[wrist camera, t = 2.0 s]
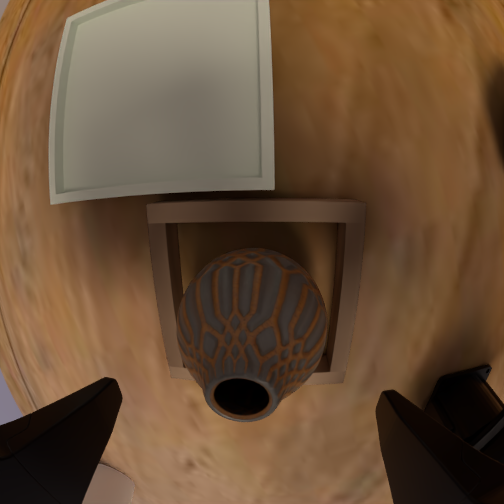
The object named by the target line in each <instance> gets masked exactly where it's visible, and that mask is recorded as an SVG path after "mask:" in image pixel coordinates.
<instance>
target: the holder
mask: <svg viewBox="0 0 504 504" xmlns="http://www.w3.org/2000/svg"><path fill="white" fill-rule="evenodd" d="M146 205H147V219H148V232H149V243H150V252H151V261H152V270H153V278H154V285H155V292H156V299H157V306H158V312H159V318H160V324H161V329H162V335H163V340H164V345H165V351H166V355H167V360H168V365H169V370H170V374H171V378H176V379H185V380H193V381H195V380H194V378H193V377H192V376H191V374H190V373H189V371H188V370H187V368H186V366H185V364H184V362H183V360H182V358H181V355H180V352H179V348H178V343H177V317H178V311H179V307H180V303H181V300H182V298H183V288H182V279H181V268H180V257H179V245H178V231H177V223H187V222H338V236H337V253H336V268H335V280H334V292H333V302H332V311H331V320H330V329H329V337H328V344H327V351H326V356H322V357H321V359H320V362H319V364H318V366H317V368H316V369H315V371H314V372H313V374H312V375H311V377H310V378H309V379H308V380H307V381H306V382H305V383H304V384H303V385H318V384H337V383H343V382H344V377H345V372H346V368H347V363H348V358H349V353H350V347H351V342H352V336H353V330H354V324H355V317H356V311H357V304H358V296H359V288H360V280H361V270H362V260H363V249H364V236H365V219H366V203H365V202H362V201H359V200H350V199H319V198H224V199H192V200H170V201H158V202H154V203H150V204H146Z"/></svg>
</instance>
